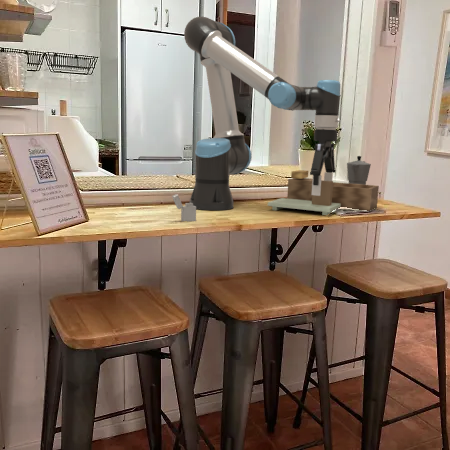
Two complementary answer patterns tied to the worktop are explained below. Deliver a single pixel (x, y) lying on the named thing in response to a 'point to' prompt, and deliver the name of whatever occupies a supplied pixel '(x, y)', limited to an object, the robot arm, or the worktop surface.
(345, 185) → the brown wooden box
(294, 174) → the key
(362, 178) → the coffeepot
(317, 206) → the lid
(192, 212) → the lighter
